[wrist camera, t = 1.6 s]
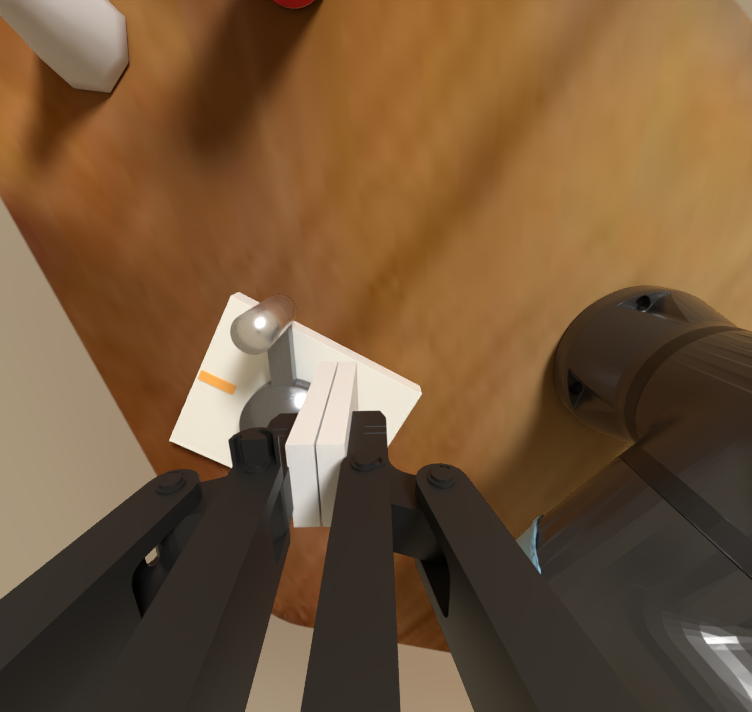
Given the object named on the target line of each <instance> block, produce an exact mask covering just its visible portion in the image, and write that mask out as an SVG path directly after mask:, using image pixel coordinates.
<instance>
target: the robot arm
mask: <svg viewBox="0 0 752 712" xmlns="http://www.w3.org/2000/svg"><path fill="white" fill-rule="evenodd" d="M553 374H554V383H555V388H556V391H557V394H558V396H559V398H560V400H561V401H562V403H563V404H564V406H565V407H566V408H567V409H568V410H569V411H570V412H571V413H572V414H573V415H574V416H575V417H576V418H577V419H578V420H579V421H580V422H582V423H583V424H584V425H585V426H587V427H589V428H590V429H592V430H594V431H596V432H598V433H600V434H603V435H605V436H608V437H611V438H614V439H617V440H620V441H623V442H626V443H629V444H631V445H632V446H631V447H630V448H629V449H627V450H626V451H625V452H624V453H622V454H621V455H620V456H618V457H616V458H615V459H614V460H613V461H612V462H610V463H609V464H608V465H607V466H605V467H604V468H603V469H602V470H600V471H599V472H598V473H597V474H596V475H594V476H593V477H592V478H591V479H589V480H588V481H587V482H586V483H584V484H583V485H582V486H581V487H580V488H578V489H577V490H576V491H575V492H573V493H572V494H571V495H570V496H568V497H567V498H566V499H565V500H564V501H562V502H561V503H560V504H559V505H557V506H556V507H555V508H554V509H552V510H551V511H550V512H549V513H548V514H546V515H542V516H538V517H536V518H535V519H534V520H533V522H532V525H531V527H529V528H528V529H527V530H526V531H525V532H524V533H523V534H522V535H521V536H520V537H519V538H517V539H516V540H515V539H514V538H513V536H512V535H511V534H510V532H509V531H508V530H507V528H506V527H505V526H504V524H503V523H502V522H501V521H500V519H499V518H498V517H497V515H496V514H495V513H494V511H493V510H492V509H491V507H490V506H489V505H488V503H487V502H486V501H485V499H484V498H483V497H482V495H481V494H480V493H479V491H478V490H477V489H476V487H475V486H474V485H473V483H472V482H471V481H470V479H469V478H468V477H467V475H466V474H465V473H464V472H462V471H461V470H460V469H458V468H456V467H454V466H452V465H447V464H442V463H441V464H430V465H427V466H424V467H423V468H421V469H420V470H419V471H418V472H417V475H412V474H408V473H405V472H402V471H400V470H398V469H396V468H395V467H393V466H392V465H391V463H390V462H389V459H388V445H387V427H386V417H385V416H384V415H383V413H382V412H381V411H358V386H357V362H339V364H338V362H320V364H319V366H318V368H317V371H316V373H315V375H314V378H313V380H312V383H311V385H310V387H309V390H308V392H307V394H306V397H305V399H304V401H303V404H302V406H301V409H300V411H299V413H280V414H279V415H277V416H276V417H275V418H273V419H272V420H271V421H270V423H269V424H268V426H267V428H266V427H256V428H249V429H246V430H243V431H240V432H238V433H236V434H234V435H233V436H232V437H231V438H230V439H229V440H228V442H229V448H230V454H231V460H232V466H233V467H232V468H231V470H230V472H229V473H228V475H227V476H225V477H222V478H218V479H213V480H209V481H204V482H200V477H199V475H198V474H197V472H196V471H193V470H190V469H178V470H172V471H169V472H167V473H164V474H162V475H159V476H157V477H156V478H154V479H153V480H151V481H149V482H148V483H147V484H146V485H144V486H143V487H142V488H141V489H139V490H138V491H137V492H135V493H134V494H133V495H132V496H130V497H129V498H128V499H127V500H125V501H124V502H123V503H122V504H120V505H119V506H118V507H117V508H115V509H114V510H113V511H111V512H110V513H109V514H108V515H107V516H105V517H104V518H103V519H102V520H100V521H99V522H98V523H96V524H95V525H94V526H93V527H91V528H90V529H89V530H87V531H86V532H85V533H84V534H82V535H81V536H80V537H79V538H77V539H76V540H75V541H74V542H72V543H71V544H70V545H69V546H68V547H66V548H65V549H64V550H62V551H61V552H60V553H59V554H57V555H56V556H55V557H53V559H51V560H50V561H48V562H47V563H46V564H45V565H43V566H42V567H41V568H40V569H38V570H37V571H36V572H34V573H33V574H32V575H31V576H29V577H28V578H27V579H26V580H24V581H23V582H22V583H21V584H19V585H18V586H17V587H16V588H14V589H13V590H12V591H10V592H9V593H8V594H7V595H6V596H4V597H3V598H2V599H0V712H245V709H246V705H247V702H248V698H249V694H250V690H251V687H252V683H253V678H254V675H255V672H256V667H257V664H258V660H259V657H260V653H261V649H262V645H263V642H264V638H265V634H266V630H267V627H268V622H269V619H270V615H271V612H272V608H273V604H274V600H275V597H276V593H277V589H278V585H279V582H280V578H281V574H282V570H283V567H284V563H285V559H286V555H287V552H288V548H289V544H290V529H289V524H290V520H291V517H292V513H293V521H294V527H320V526H321V521H322V525H323V527H330V533H329V539H328V545H327V552H326V558H325V564H324V570H323V576H322V582H321V589H320V595H319V601H318V607H317V613H316V619H315V626H314V632H313V638H312V644H311V650H310V656H309V663H308V669H307V675H306V681H305V687H304V694H303V700H302V706H301V712H400V692H399V669H398V649H397V648H398V647H397V625H396V603H395V581H394V558H393V552H396V553H399V554H403V555H406V556H410V557H414V558H415V564H416V567H417V569H418V572H419V574H420V577H421V579H422V582H423V584H424V587H425V589H426V592H427V594H428V597H429V599H430V602H431V604H432V607H433V609H434V612H435V614H436V617H437V619H438V622H439V624H440V627H441V629H442V632H443V634H444V637H445V639H446V642H447V644H448V647H449V649H450V652H451V654H452V657H453V659H454V662H455V664H456V667H457V669H458V672H459V674H460V677H461V679H462V682H463V684H464V687H465V689H466V692H467V694H468V697H469V699H470V702H471V704H472V707H473V709H474V712H752V332H751V331H748V330H744V329H741V328H738V327H737V326H736V325H734V324H733V323H732V322H730V321H729V320H728V319H726V318H725V317H724V316H722V315H721V314H720V313H719V312H717V311H716V310H715V309H713V308H712V307H711V306H709V305H708V304H707V303H705V302H704V301H702V300H701V299H699V298H697V297H695V296H693V295H691V294H688V293H686V292H683V291H679V290H674V289H669V288H664V287H659V286H635V287H630V288H625V289H622V290H619V291H616V292H613V293H611V294H609V295H607V296H605V297H603V298H601V299H599V300H598V301H596V302H595V303H593V304H592V305H590V306H589V307H588V308H587V309H585V310H584V311H583V312H582V313H581V314H580V315H579V316H578V317H577V318H576V319H575V320H574V321H573V323H572V324H571V325H570V326H569V328H568V329H567V331H566V332H565V334H564V336H563V338H562V340H561V342H560V344H559V346H558V349H557V352H556V356H555V361H554V371H553ZM154 548H156V552H157V556H156V558H155V559H154V560H153V561H151V562H150V563H149V564H147V563H146V560H145V557H146V556H147V555H148V554H149V553H150V551H152V550H153V549H154Z"/></svg>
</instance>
